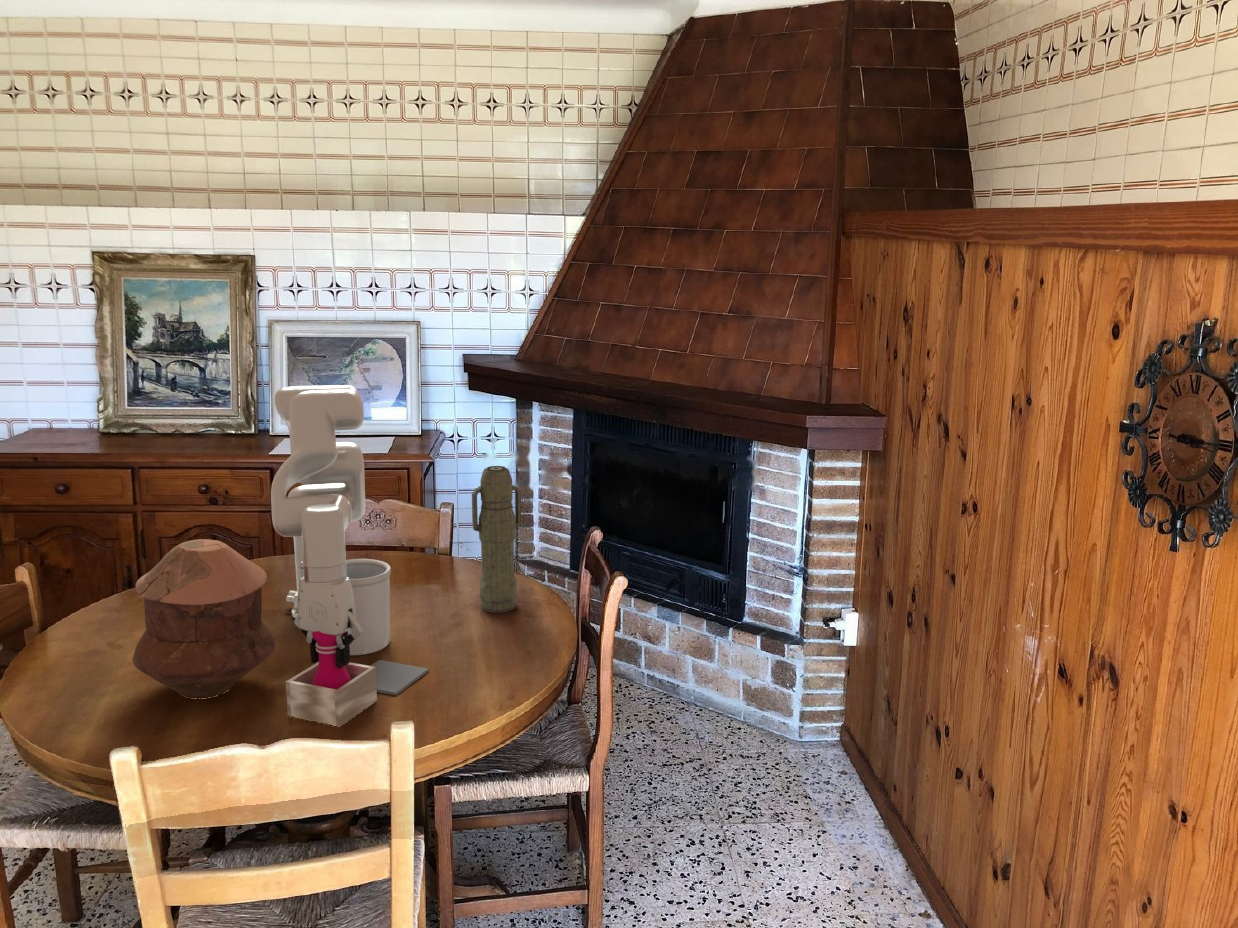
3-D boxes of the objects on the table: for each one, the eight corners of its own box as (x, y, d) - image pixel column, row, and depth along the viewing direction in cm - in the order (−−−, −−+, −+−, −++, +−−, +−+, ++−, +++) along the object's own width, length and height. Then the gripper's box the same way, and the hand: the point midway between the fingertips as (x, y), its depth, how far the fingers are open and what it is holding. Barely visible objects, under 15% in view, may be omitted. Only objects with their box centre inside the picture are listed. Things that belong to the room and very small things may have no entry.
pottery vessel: (133, 676, 193) (118, 535, 186) (265, 652, 205) (256, 519, 198) (141, 731, 170) (124, 573, 164) (288, 701, 183) (278, 552, 176)
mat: (344, 685, 190) (344, 682, 189) (379, 662, 201) (379, 659, 200) (396, 695, 186) (395, 692, 185) (428, 671, 197) (428, 668, 196)
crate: (287, 716, 177) (285, 681, 175) (327, 690, 187) (325, 657, 186) (339, 727, 173) (337, 692, 171) (377, 700, 183) (375, 666, 182)
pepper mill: (360, 703, 182) (355, 605, 178) (337, 720, 175) (332, 618, 171) (328, 697, 184) (323, 600, 180) (305, 713, 178) (298, 613, 174)
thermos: (528, 607, 233) (526, 469, 225) (483, 616, 227) (480, 474, 219) (513, 596, 240) (511, 462, 233) (469, 604, 234) (466, 466, 227)
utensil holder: (371, 625, 221) (368, 553, 217) (406, 644, 210) (403, 569, 207) (312, 642, 211) (307, 567, 207) (346, 663, 200) (341, 584, 196)
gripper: (273, 571, 174) (280, 663, 177) (351, 583, 168) (356, 678, 172) (300, 559, 180) (306, 648, 184) (376, 570, 175) (380, 662, 179)
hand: (330, 662), depth 178 cm, fingers closed on pepper mill, 5 cm apart
